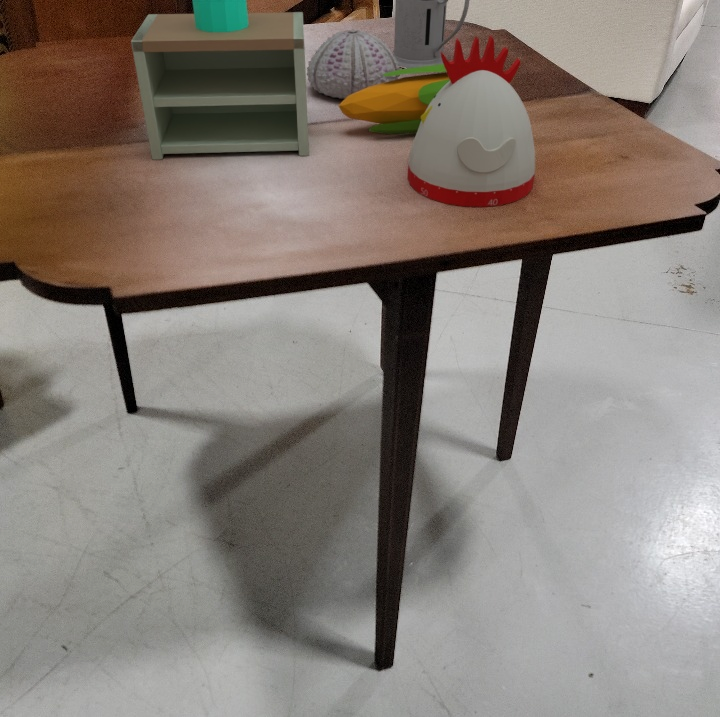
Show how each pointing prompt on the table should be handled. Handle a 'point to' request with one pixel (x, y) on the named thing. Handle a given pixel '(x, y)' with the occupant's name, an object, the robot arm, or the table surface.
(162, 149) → the rack
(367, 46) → the sea urchin shell
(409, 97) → the corn
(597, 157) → the table surface
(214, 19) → the candle
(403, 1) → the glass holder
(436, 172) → the kitchen timer
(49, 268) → the table surface
